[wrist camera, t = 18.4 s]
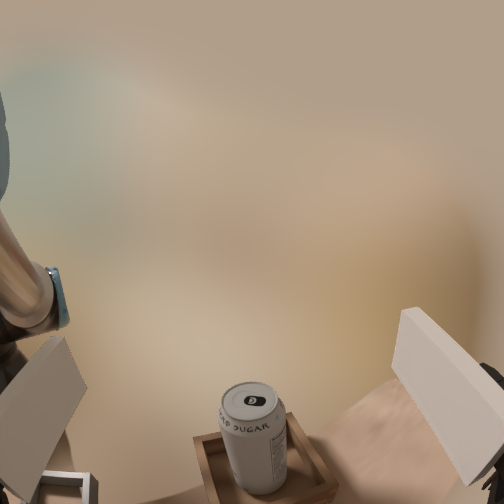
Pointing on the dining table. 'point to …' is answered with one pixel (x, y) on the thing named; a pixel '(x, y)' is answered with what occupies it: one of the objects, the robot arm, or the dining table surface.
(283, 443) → the energy drink can
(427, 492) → the dining table surface
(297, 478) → the walnut bin
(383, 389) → the dining table surface
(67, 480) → the tray
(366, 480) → the dining table surface
